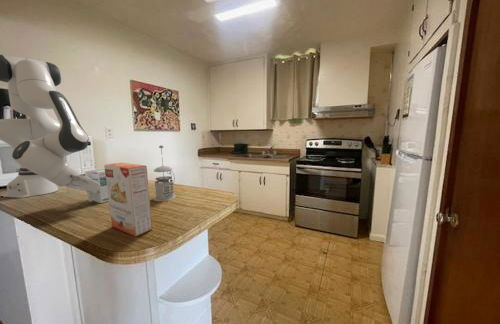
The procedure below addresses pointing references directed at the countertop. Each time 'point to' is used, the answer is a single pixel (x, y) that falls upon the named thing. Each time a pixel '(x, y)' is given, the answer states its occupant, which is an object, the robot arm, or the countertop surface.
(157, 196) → the french press
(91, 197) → the white topped bridge
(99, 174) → the syrup box
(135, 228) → the cracker box
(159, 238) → the countertop surface
